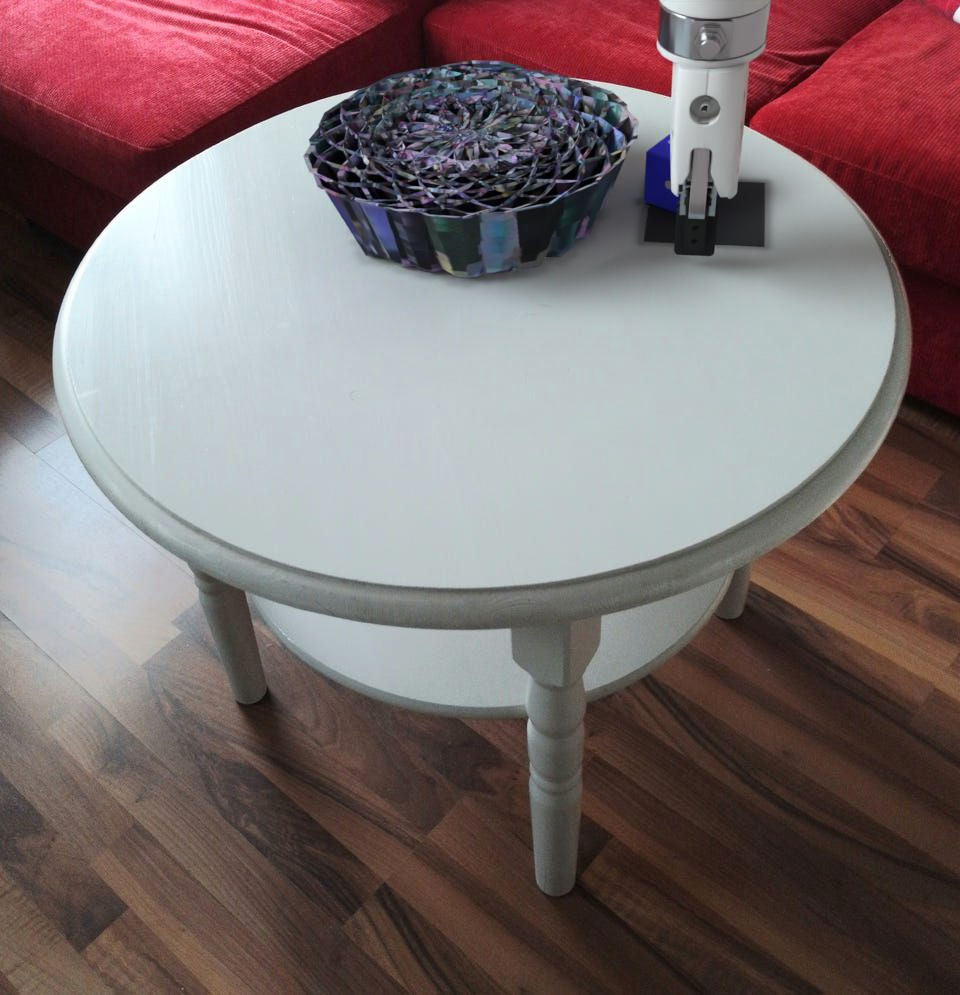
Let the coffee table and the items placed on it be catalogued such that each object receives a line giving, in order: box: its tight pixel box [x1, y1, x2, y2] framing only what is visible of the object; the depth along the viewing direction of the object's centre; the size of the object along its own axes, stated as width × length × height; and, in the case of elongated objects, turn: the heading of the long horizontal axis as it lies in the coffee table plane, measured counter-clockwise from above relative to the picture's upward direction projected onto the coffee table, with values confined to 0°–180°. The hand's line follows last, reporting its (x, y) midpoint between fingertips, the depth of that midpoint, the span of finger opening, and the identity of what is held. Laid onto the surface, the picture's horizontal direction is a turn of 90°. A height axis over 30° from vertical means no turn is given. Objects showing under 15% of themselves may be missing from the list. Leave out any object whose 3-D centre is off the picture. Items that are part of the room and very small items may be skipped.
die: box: [643, 133, 719, 213], centre depth 96 cm, size 5×5×5 cm
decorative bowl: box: [303, 59, 640, 278], centre depth 95 cm, size 26×28×10 cm
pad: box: [643, 181, 766, 248], centre depth 96 cm, size 10×10×1 cm
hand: (694, 249), depth 89 cm, fingers closed
